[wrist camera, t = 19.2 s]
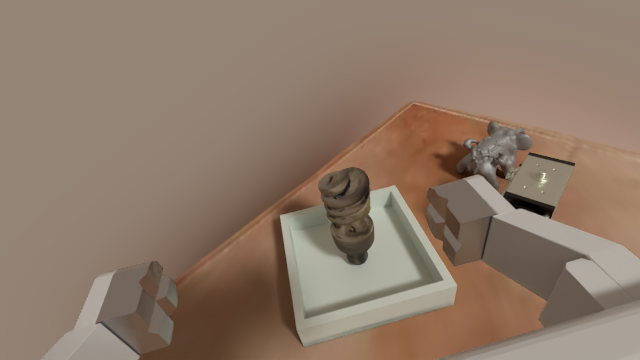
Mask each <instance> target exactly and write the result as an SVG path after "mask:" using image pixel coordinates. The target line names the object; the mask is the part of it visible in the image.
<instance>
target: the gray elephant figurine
mask: <svg viewBox="0 0 640 360" xmlns="http://www.w3.org/2000/svg"><path fill="white" fill-rule="evenodd" d="M487 131H488V134H489V136H488V137H485V138H484V140H482V141H480V142H478V141H476V140H474V139H471V138H469V139H467V140H466V141H465V142H464V143H463V146H464V147H465V148H467V149H470V153H469V154H467V155H466V156H465V157H463V158H462V159H461V160H460V161H459V162H458V163H457V165H456V169H457V172H458V173H462V172H464V170H465V169H466V168H467V169H468V171H473V174H475V175H481V176H484V178H485V180H486V181H487V182H488V183H489V184H490V185H491V186H493V187H494V188H495V189H496V190H498V188H499V184H498V182H497V178H496V168H498V166H499V165H500V167H501V169H502V171H503V173H504V176H505V177H506V175H507V173H509V171H510V169H511V167H514V164H515V159H516V154H517V150H528V149H530V148H531V147H532V144H533V142H532V139H531V137H530V136H528V135H525V131H524V129H523V128H522V127H521V128H518V129H515V130H512V129H509V128H507V127H500V126H499V125H498V124H497V123H494V122H493V121H490V123H489V124H488V129H487ZM473 142H474V143H476V144H477V145H476V146H473V147H472V146H471V144H472V143H473ZM509 174H510V173H509ZM511 175H514V173H512V174H511ZM511 175H510V176H511Z"/></svg>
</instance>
